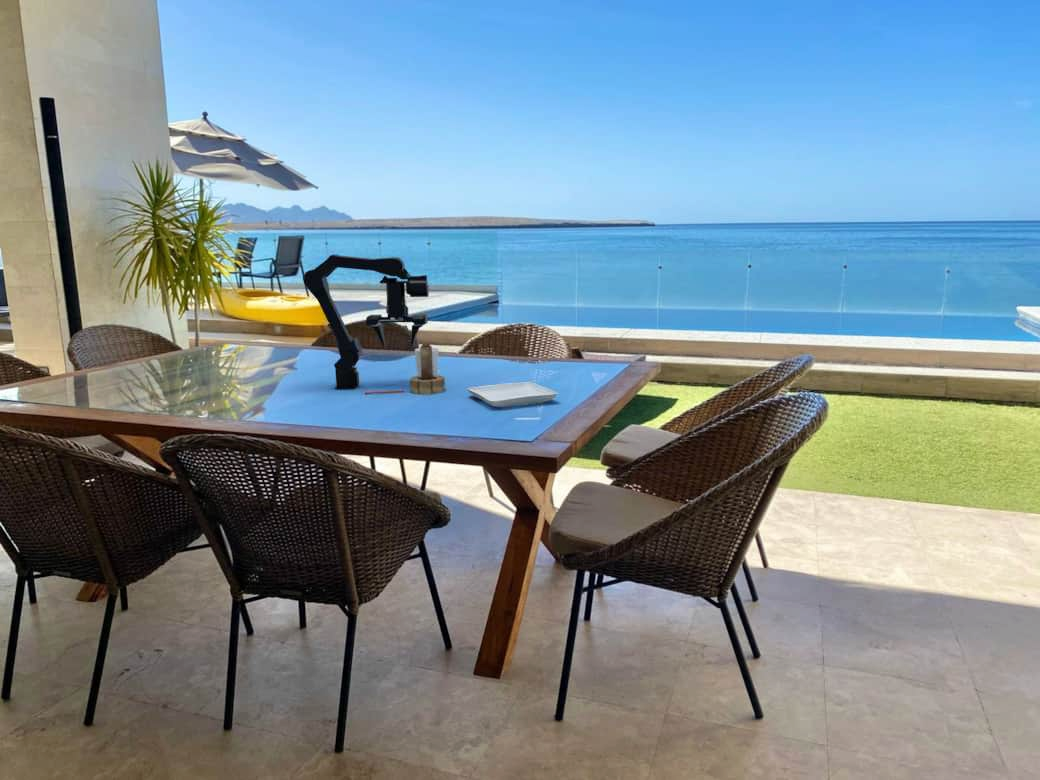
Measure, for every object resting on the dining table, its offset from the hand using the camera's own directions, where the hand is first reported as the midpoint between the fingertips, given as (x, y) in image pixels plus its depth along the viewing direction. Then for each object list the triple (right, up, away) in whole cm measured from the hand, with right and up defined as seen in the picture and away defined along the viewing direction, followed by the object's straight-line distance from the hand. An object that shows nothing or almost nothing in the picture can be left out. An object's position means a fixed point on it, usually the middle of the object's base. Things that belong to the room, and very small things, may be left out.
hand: (398, 346), depth 247 cm
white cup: (+8, -10, +15) cm, 20 cm away
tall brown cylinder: (+10, -14, -4) cm, 18 cm away
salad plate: (+36, -17, -19) cm, 45 cm away
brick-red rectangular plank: (-3, -15, -7) cm, 17 cm away
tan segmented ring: (+10, -14, -4) cm, 18 cm away
